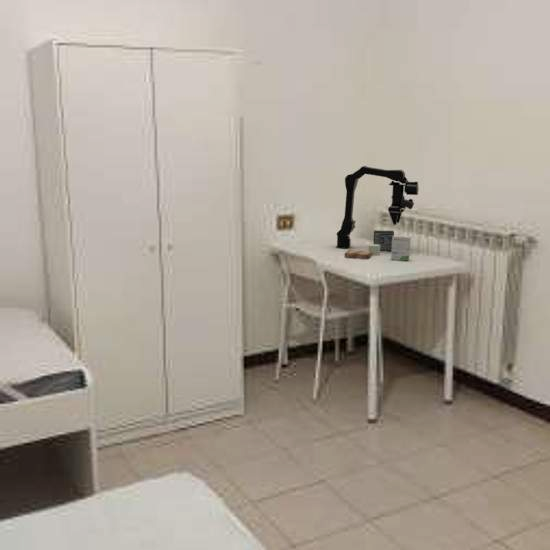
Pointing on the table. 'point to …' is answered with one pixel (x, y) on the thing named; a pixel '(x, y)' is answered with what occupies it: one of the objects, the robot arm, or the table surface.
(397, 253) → the ink box
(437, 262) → the table surface
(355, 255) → the brown wooden tray
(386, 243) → the small box
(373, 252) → the sage cube
